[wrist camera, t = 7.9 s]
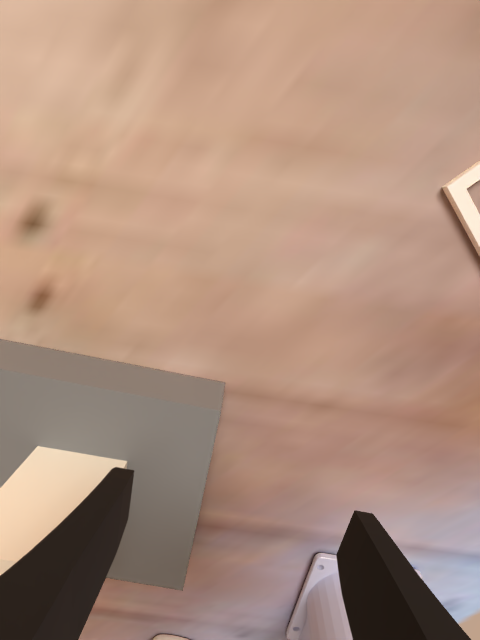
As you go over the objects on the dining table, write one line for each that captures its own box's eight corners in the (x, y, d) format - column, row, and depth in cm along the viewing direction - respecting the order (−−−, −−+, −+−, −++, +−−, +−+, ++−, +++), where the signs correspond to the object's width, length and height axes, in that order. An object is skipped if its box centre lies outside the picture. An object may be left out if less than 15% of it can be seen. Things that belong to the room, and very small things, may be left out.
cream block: (121, 526, 20) (71, 650, 15) (38, 513, 20) (-44, 632, 15) (127, 461, 19) (74, 570, 13) (37, 446, 19) (-55, 550, 13)
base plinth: (190, 546, 25) (182, 590, 22) (0, 513, 24) (-33, 554, 22) (225, 382, 20) (220, 411, 18) (-7, 337, 20) (-50, 359, 17)
